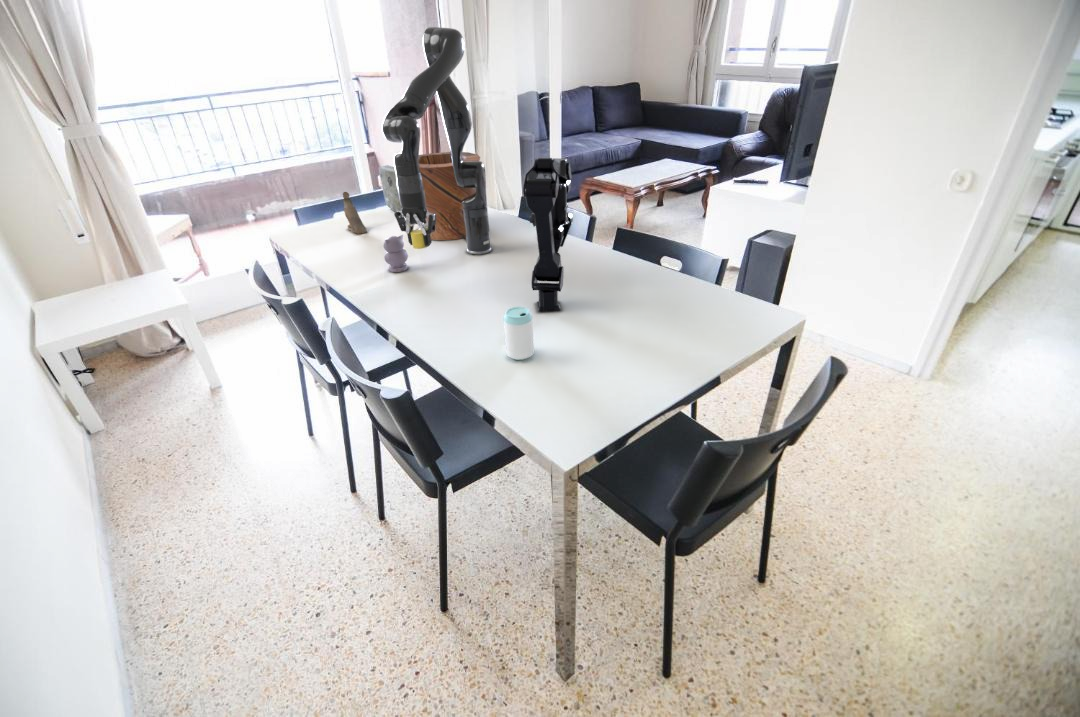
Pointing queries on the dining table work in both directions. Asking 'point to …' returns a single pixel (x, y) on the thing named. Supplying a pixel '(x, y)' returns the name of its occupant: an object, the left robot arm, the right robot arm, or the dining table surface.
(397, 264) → the cat figurine
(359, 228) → the brown carved statuette
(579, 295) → the dining table surface
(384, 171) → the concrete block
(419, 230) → the canister
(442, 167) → the wooden planter
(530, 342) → the can
